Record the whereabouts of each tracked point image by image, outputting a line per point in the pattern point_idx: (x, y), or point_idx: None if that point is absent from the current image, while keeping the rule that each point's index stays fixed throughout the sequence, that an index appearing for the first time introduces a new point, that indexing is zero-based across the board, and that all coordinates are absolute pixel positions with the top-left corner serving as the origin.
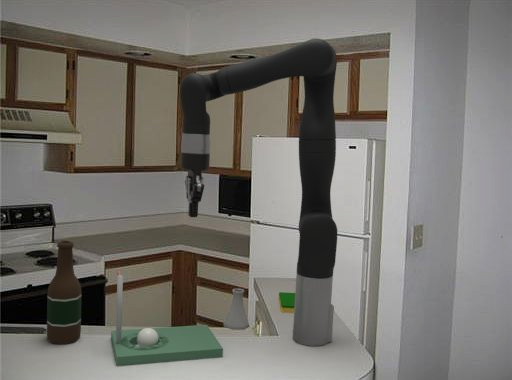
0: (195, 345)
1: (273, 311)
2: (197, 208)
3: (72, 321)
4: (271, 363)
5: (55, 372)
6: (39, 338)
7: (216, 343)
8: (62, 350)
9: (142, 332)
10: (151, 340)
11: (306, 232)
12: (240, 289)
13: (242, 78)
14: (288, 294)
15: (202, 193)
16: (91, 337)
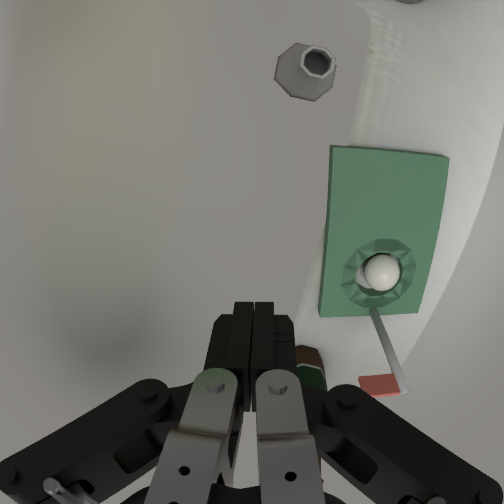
0: (425, 199)
1: None
2: (272, 340)
3: (322, 375)
4: (478, 92)
5: (398, 360)
6: None
7: (428, 161)
8: (339, 359)
9: (389, 288)
10: (399, 270)
11: None
12: (308, 52)
13: None
14: None
15: (439, 445)
16: (303, 332)
